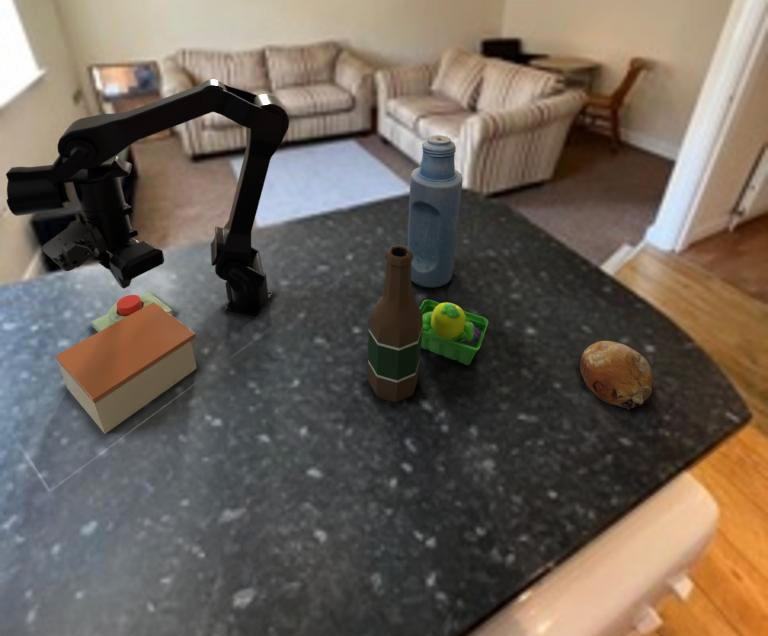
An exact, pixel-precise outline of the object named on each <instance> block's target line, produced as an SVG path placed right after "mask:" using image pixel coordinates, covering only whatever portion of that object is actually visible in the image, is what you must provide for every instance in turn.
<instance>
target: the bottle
mask: <svg viewBox="0 0 768 636" xmlns="http://www.w3.org/2000/svg"><path fill="white" fill-rule="evenodd" d="M421 149H422V157H421V161H420V166H418V167H417V168H415V169H413V170H412V172H411V174H410V183H409V186H410V187H409V200H408V225H407V245H406V247H408V248H409V249H410V250H411V251H412V253H413V257H414V258H413V260H412V262H411V283H413V284H415V285H417V286H419V287H421V288H422V287H423V288H429V289H433V288H439V287H443V286H445V285H447V284H449V282H450V281H451V280H452V278H453V273H454V272H453V271H454V262H455V261H454V260H455V251H456V245H457V236H458V235H457V234H458V225H459V217H460V209H461V199H462V189H463V182H464V180H463V179H464V178H463V175H462V173H461V172H460V171H458V170H457V169H456V164H455V154H456V150H457V147H456V144H455V142H454V141H452V139H451V138H450V137H448V136H446V135H441V134H435V135H431V136H428V137H427V139H425V140H424V141H423V142H422V144H421Z"/></svg>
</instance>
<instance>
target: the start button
mask: <svg viewBox="0 0 768 636" xmlns="http://www.w3.org/2000/svg"><path fill="white" fill-rule="evenodd" d="M138 295H139V294H128V295H125V296H123V297H121V298H120V299H119V300H118V301H116V302H117V308H118V312H119V314H120V315H121V316H129V315H131V314H133V313H135V312H136V311H138V310H140V309H142V303H141V299H140V297H139V296H138Z"/></svg>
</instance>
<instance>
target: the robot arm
mask: <svg viewBox="0 0 768 636" xmlns="http://www.w3.org/2000/svg"><path fill="white" fill-rule="evenodd" d="M211 113H215V114H218V115H221V116H223V117H225V118H227V119H228V120H230V121H232V122H234V123H236V124H238V125H240V126H242V127H245V134H246V135H245V136H246V137H245V138H246V139H245V140H246V143H245V145H246V147H245V151H244V154H243V155H244V156H243V159H242V165H241V168H240V172H239V177H238V180H237V183H236V184H237V185H236V189H235V192H234V195H233V196H234V197H233V201H232V204H231V209H230V213H229V217H228V220H227V223H225V225H224V227H219V226H215V227H214V238H213V240H212V242H210V259H211V266H213V267H214V272H215V275H216V276H217V277H218V278H219V279H221V280H223V281H225V282H224V284H225V291H226V297H227V301H228V303H227V304H226V305H225V307H224V309H225V311H227V312H232V313H236V314H237V313H238V314H241V315H246V316H252V317H257V316H259V314H260V313H261V312H262V310H263V309H264V307H265V306H266V305H267V304H268V302H269V301H270V299H271V298H272V296H273V295H274V294H273V291H270V290H268V281H267V273H266V272H264V267H263V264H262V259H261V255H260V254H261V253H260V251H259V250H258V249H256V248H254V247H253V246H252V231H253V227H254V223H255V220H256V216H257V211H258V209H259V204H260V201H261V197H262V193H263V189H264V186H265V182H266V177H267V174H268V170H269V167H270V164H271V159H272V158H273V156H274V155H275V153H276V152H277V151H278V149H279V148H280V146H281V145H282V142H283V141H284V138H285V136H286V134H287V132H288V130H289V127H290V118H289V115H288V113H287V111H286V110H285V108H284V106H283V105H282V103H281V102H280V100H279V99H278V98H277V97H276V96H274V95H271V94H266V93H263V94H255V93H253V92H251V91H248V90H246V89H241V88H239V87H236V86H231V85H228V84H225V83H223V82H222V81H220V80H217V79H208V80H205V81H204V82H202V83H201V84H198V85H196V86H193V87H191V88H188V89H184V90H183V91H180V92H176V93H174V94H172V95H169V96H166V97H163V98H161V99H157V100H155V101H152V102H149V103H147V104H145V105H141V106H139V107H136V108H133V109H130V110H128V111H124V112H117V113H102V114H97V115H92V116H86V117H81V118H78V119H76V120H75V121H73V122H72V123H71V124H70V125H69V126H68V127H67V128H66V130H65V131H64V133H63V134H62V135H61V136H60V138H59V139H58V143H57V144H56V145H57V153H58V156H57V158H56V159H55V160H54V162H53V164H47V165H38V166H14V167H13V166H11V168H10V169H9V170H7V172H6V173H5V176H6V179H7V184H6V196H7V199H6V203H7V207H8V209H9V210H10V212H11V213H12V215H13V216H16V217H18V216H19V217H20V216H26V215H35V214H42V213H51V212H59V211H65V210H66V209H67V208H68V205H69V203H73V202H74V201H75V195H76V198H77V202H78V204H79V208H80V210H77V211H76V214H75V220H73V221H71V222H69V224H68V225H67V227H66V228H65V229H64V230H62V231H61V232H59V233H58V234H57V235H55V236H53V238H51V239H50V240H48V241H47V242H46V243H45V244H43V245H42V247H41V251H42V252H43V253H44V254H45V255H47V257H49V258H50V259H51V260H52V261H53V263H55V264H56V265H57V266H59V268H61V269H62V270H64V272H70V271H73V270H74V269H76V268H79V267H81V266H83V264H85V263H86V262H87V261H89V260H90V259H91V258H92V260H95V261H98V264H100V266H102V267H103V268H104V269H106V270H108V271H109V272H110V273H111V275H112V277H113V278H114V279H115V282H117V284H118V285H119V287H120V288H122V289H123V290H124V289H126V288H128V287H130V285H131V283H132V280H133V279H135V278H138V277H139V276H141V275H143V274H145V273H147V272H149V271H151V270H153V269H156V268H158V267H160V266H161V265H163V264H164V263H165V261H166V260H165V256H164V251H163V250H162V249H160V248H159V247H158V246H156V245H154V244H153V243H151V242H149V241H146V240H142V241H138V240H137V239H135V237H138V236H139V232H138V229H136V228H135V227H133V226H132V225H131V221H130V220H131V219H130V217H129V216H130V214H133V213H134V211H133V207H132V206H131V205H129V204H128V203H126V200H125V195H124V192H123V188H122V184H121V180H120V178H124V177H125V178H126V177H129V176H130V174H131V171H132V167H133V164H132V163H130V162H128V161H126V160H123V159H121V158H120V156H118V155H119V154H121V152H123V151H124V150H126V149H127V148H128V147H130V146H131V145H133V144H135V143H136V142H138V141H140V140H143V139H146V138H148V137H150V136H153V135H156V134H158V133H162V132H163V131H166V130H169V129H171V128H174V127H176V126H179V125H182V124H185V123H187V122H190V121H192V120H195V119H198V118H200V117H204V116H206V115H209V114H211ZM111 159H112V160H111ZM109 160H111V161H110V162H107V161H109Z"/></svg>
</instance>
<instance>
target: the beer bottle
mask: <svg viewBox="0 0 768 636" xmlns="http://www.w3.org/2000/svg"><path fill="white" fill-rule="evenodd" d="M413 258H414V257H413V253H412V251H411V250H410V249H409V248H408V247H407V246H406V245H405V246H404V245H398V244H397V245H393V246H390V247H389V248H388V249H387V251H386V254H385V257H384V259H385V260H386V267H385V277H384V286H383V292H382V295H381V296H380V297H379V298H378V300H377V303H376V304H375V306H374V308H373V310H372V312H371V315H370V317H369V321H368V337H367V339H368V340H367V341H368V343H367V344H368V346H367V378H368V379H367V380H368V383H369V385H370V387H371V388H372V390H373V393H374V394H375V395H376V397H377V398H378V399H381V400H385V401H389V402H391V403H398V402H401V401H403V400H405V399H407V398H410V397H413V395H414V393H415V390H416V386H417V383H418V380H419V375H420V366H421V355H422V353H421V352H422V348H421V342H422V330H423V316H422V313H421V311H420V306H419V305H418V304H417V303H416V302H415V300H414V298H413V292H412V281H411V262H412V260H413Z"/></svg>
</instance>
